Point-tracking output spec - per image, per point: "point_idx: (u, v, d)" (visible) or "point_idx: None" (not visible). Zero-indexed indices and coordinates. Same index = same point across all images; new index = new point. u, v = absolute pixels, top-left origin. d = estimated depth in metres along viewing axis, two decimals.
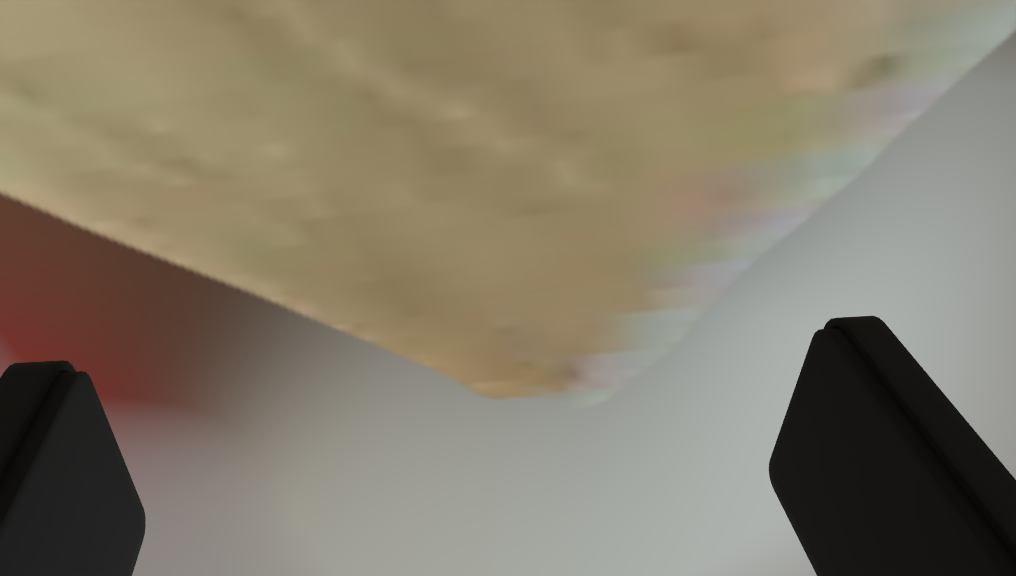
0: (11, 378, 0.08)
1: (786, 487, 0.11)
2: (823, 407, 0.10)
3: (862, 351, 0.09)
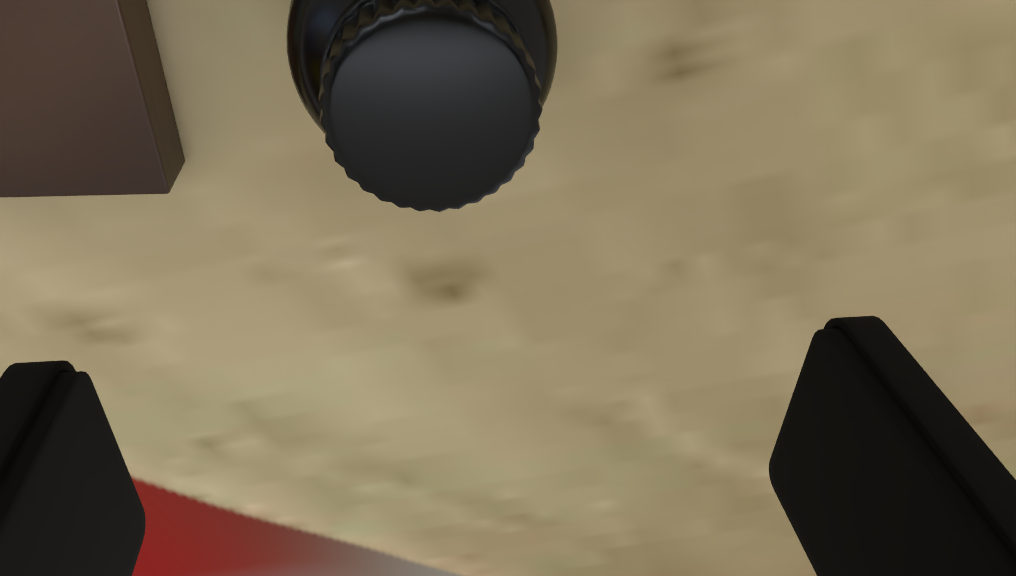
0: (11, 378, 0.08)
1: (786, 487, 0.11)
2: (823, 407, 0.10)
3: (862, 351, 0.09)
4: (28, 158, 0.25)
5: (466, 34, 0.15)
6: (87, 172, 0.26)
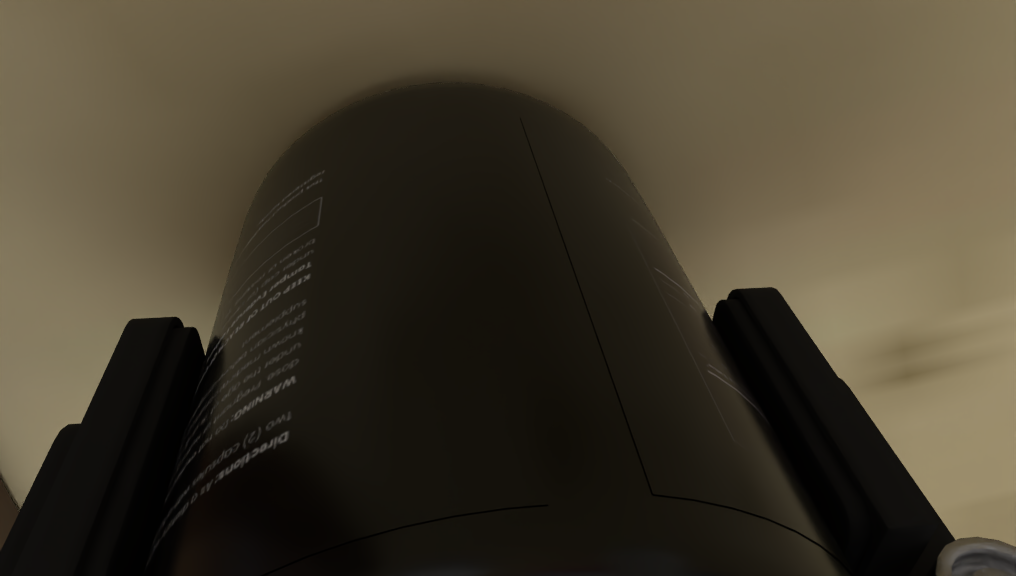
0: (133, 331, 0.09)
1: None
2: None
3: (755, 319, 0.09)
4: None
5: None
6: None
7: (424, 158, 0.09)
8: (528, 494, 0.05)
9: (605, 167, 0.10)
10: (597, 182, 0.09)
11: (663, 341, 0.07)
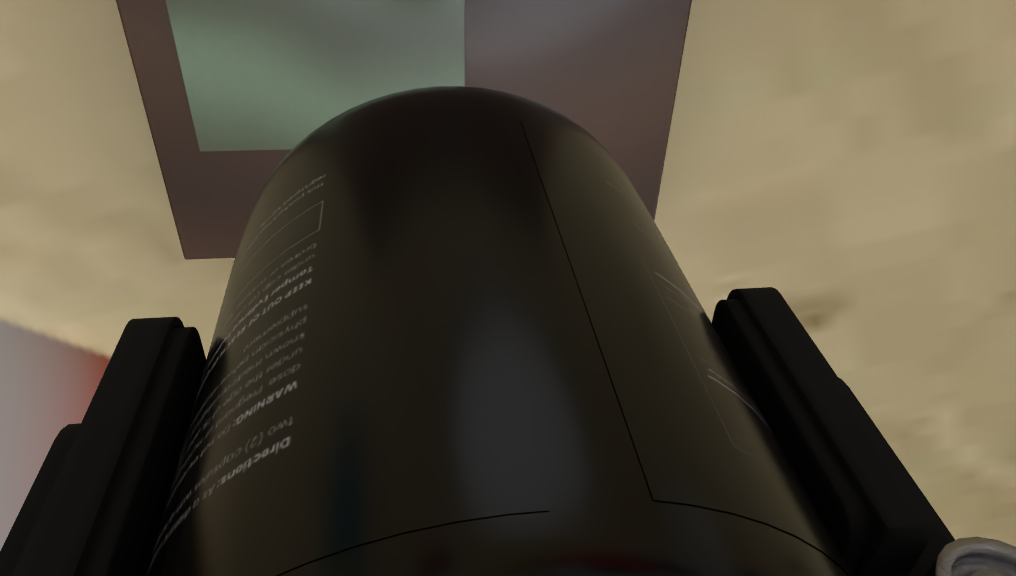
0: (133, 331, 0.09)
1: None
2: None
3: (755, 319, 0.09)
4: None
5: None
6: None
7: (425, 162, 0.09)
8: (527, 499, 0.05)
9: (605, 171, 0.10)
10: (598, 185, 0.09)
11: (663, 345, 0.07)
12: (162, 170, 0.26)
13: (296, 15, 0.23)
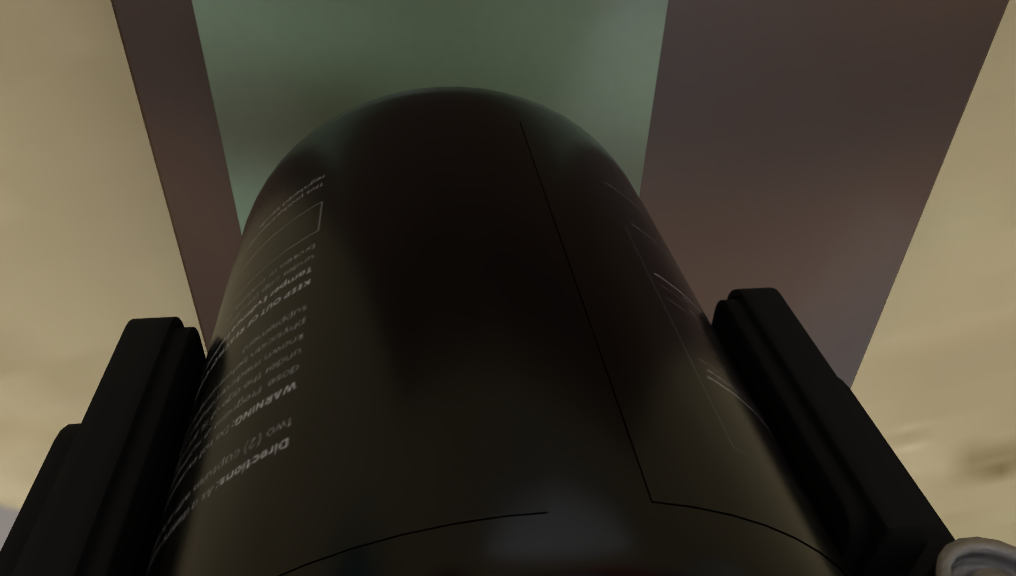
0: (134, 331, 0.09)
1: None
2: None
3: (754, 319, 0.09)
4: None
5: None
6: None
7: (425, 162, 0.09)
8: (526, 501, 0.05)
9: (605, 171, 0.10)
10: (597, 186, 0.09)
11: (662, 346, 0.07)
12: None
13: None
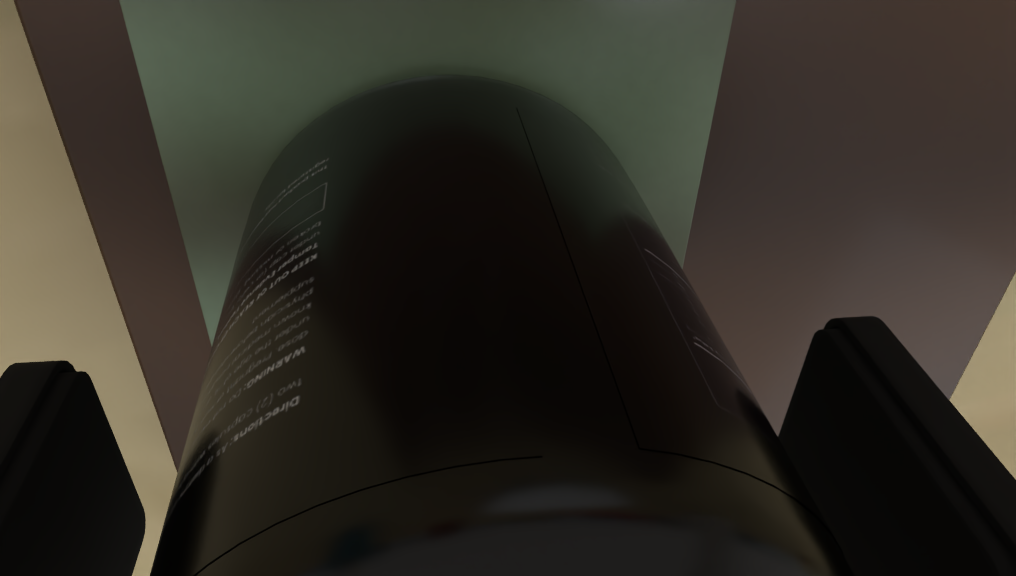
0: (11, 378, 0.08)
1: None
2: (823, 407, 0.10)
3: (862, 351, 0.09)
4: None
5: None
6: None
7: (425, 145, 0.09)
8: (522, 446, 0.05)
9: (598, 155, 0.10)
10: (591, 168, 0.10)
11: (652, 314, 0.07)
12: (174, 460, 0.16)
13: None
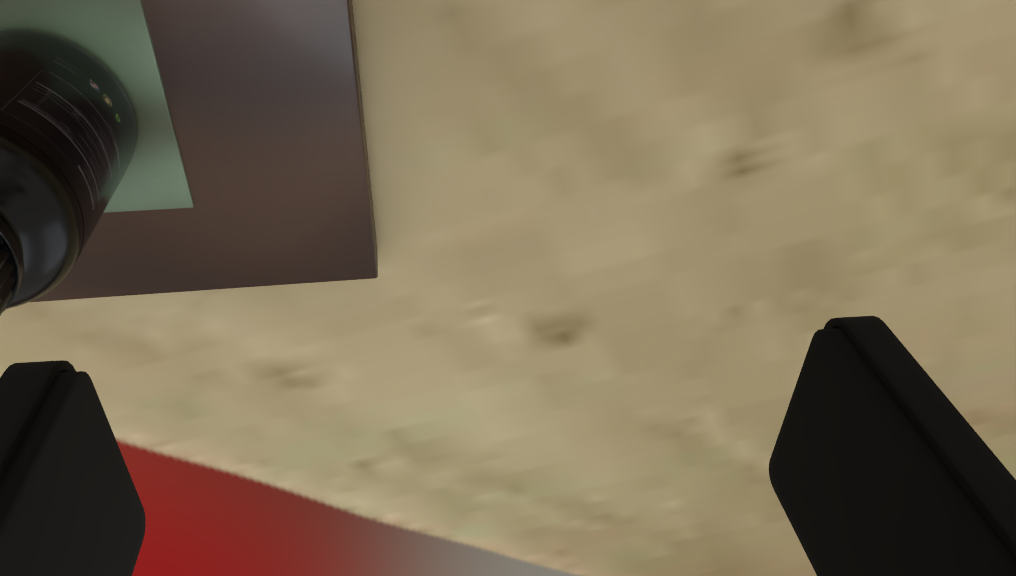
0: (11, 378, 0.08)
1: (786, 487, 0.11)
2: (823, 407, 0.10)
3: (862, 351, 0.09)
4: (282, 258, 0.35)
5: None
6: (322, 266, 0.35)
7: None
8: None
9: (62, 58, 0.26)
10: (44, 60, 0.26)
11: (2, 92, 0.23)
12: None
13: None
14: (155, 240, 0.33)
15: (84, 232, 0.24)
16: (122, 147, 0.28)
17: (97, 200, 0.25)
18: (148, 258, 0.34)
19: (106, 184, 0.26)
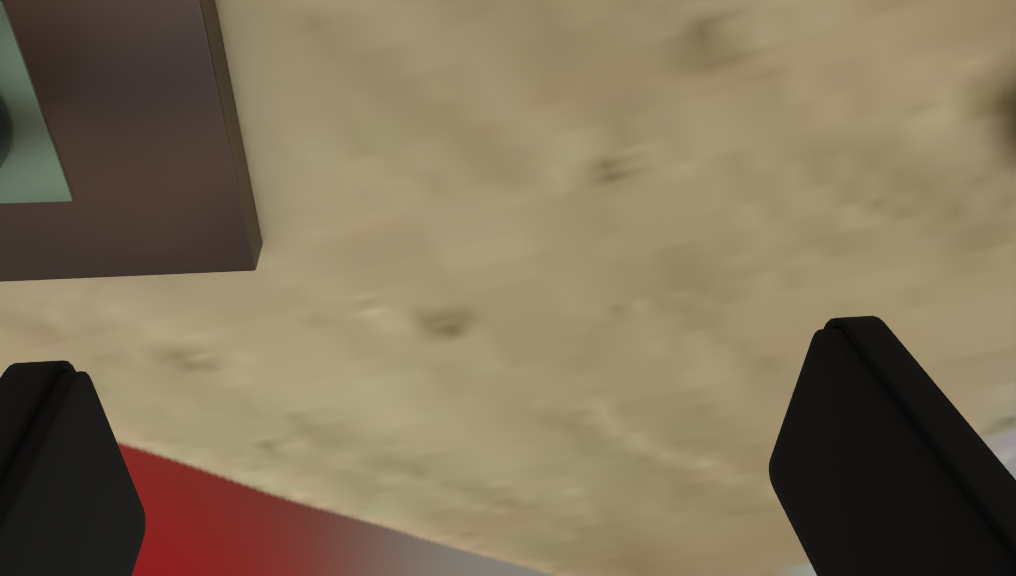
0: (11, 378, 0.08)
1: (787, 488, 0.11)
2: (823, 407, 0.10)
3: (862, 351, 0.09)
4: (162, 250, 0.37)
5: None
6: (201, 258, 0.38)
7: None
8: None
9: None
10: None
11: None
12: None
13: None
14: (39, 230, 0.36)
15: None
16: None
17: None
18: (35, 247, 0.36)
19: None
